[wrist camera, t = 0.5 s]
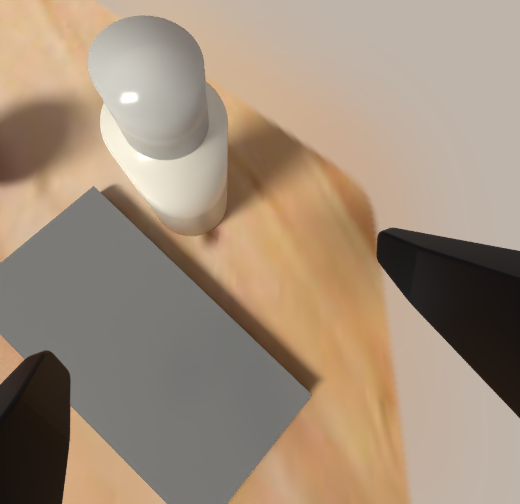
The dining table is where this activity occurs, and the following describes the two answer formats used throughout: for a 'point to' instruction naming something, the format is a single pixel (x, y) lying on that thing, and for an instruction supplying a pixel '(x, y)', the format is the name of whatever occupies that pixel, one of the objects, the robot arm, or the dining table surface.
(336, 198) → the dining table surface
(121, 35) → the white bottle
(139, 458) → the slate board
